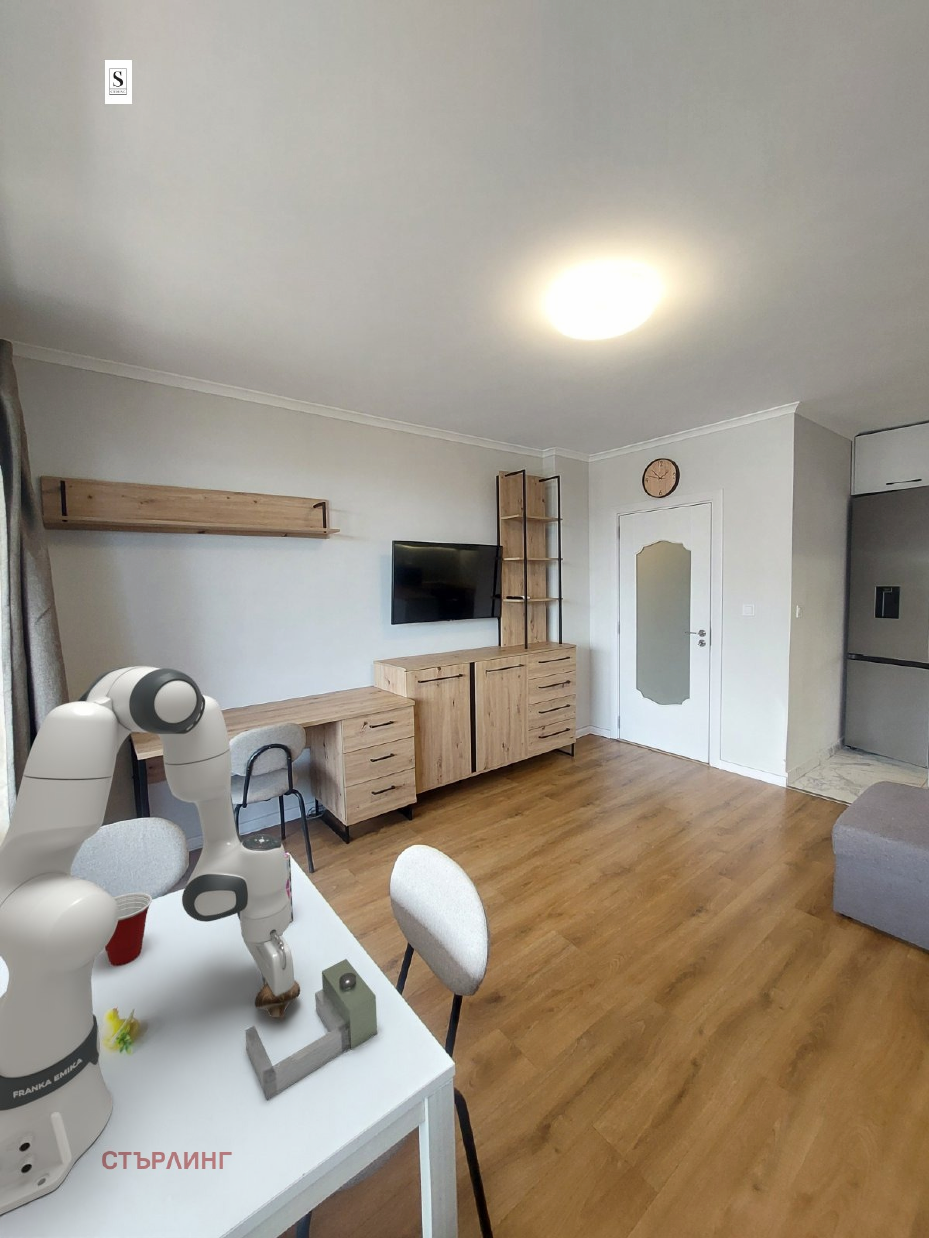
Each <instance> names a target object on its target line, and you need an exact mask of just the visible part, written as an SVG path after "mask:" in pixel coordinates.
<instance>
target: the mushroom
mask: <svg viewBox="0 0 929 1238" xmlns="http://www.w3.org/2000/svg"><path fill="white" fill-rule="evenodd" d="M300 994H301V986H300V984H299V983H298V982H297V981H296V980H295V979H294V986H293V988H292V989H290V990H289V991H287V992H285V993H283V994H281V995H279V996H275V995H274V994H273V992H272V990H271V989H270V987H269V985H268V983H267V984H266V985H264V986H263V985H262V987H261V988H260V989H259V991H258V992H257V994H256V996H255V998H254V999H255V1000H254V1005H255V1007H256V1008H257V1009H260V1010H261V1009H262V1010H266V1011H268V1015H269V1016H270V1017H273V1018H276V1019H277V1018H278V1019H285V1011H286V1008H287V1007H288V1006H289V1004H291V1002H293V1001H294V1000H296V999H297V998H298V997H299V996H300Z"/></svg>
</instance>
